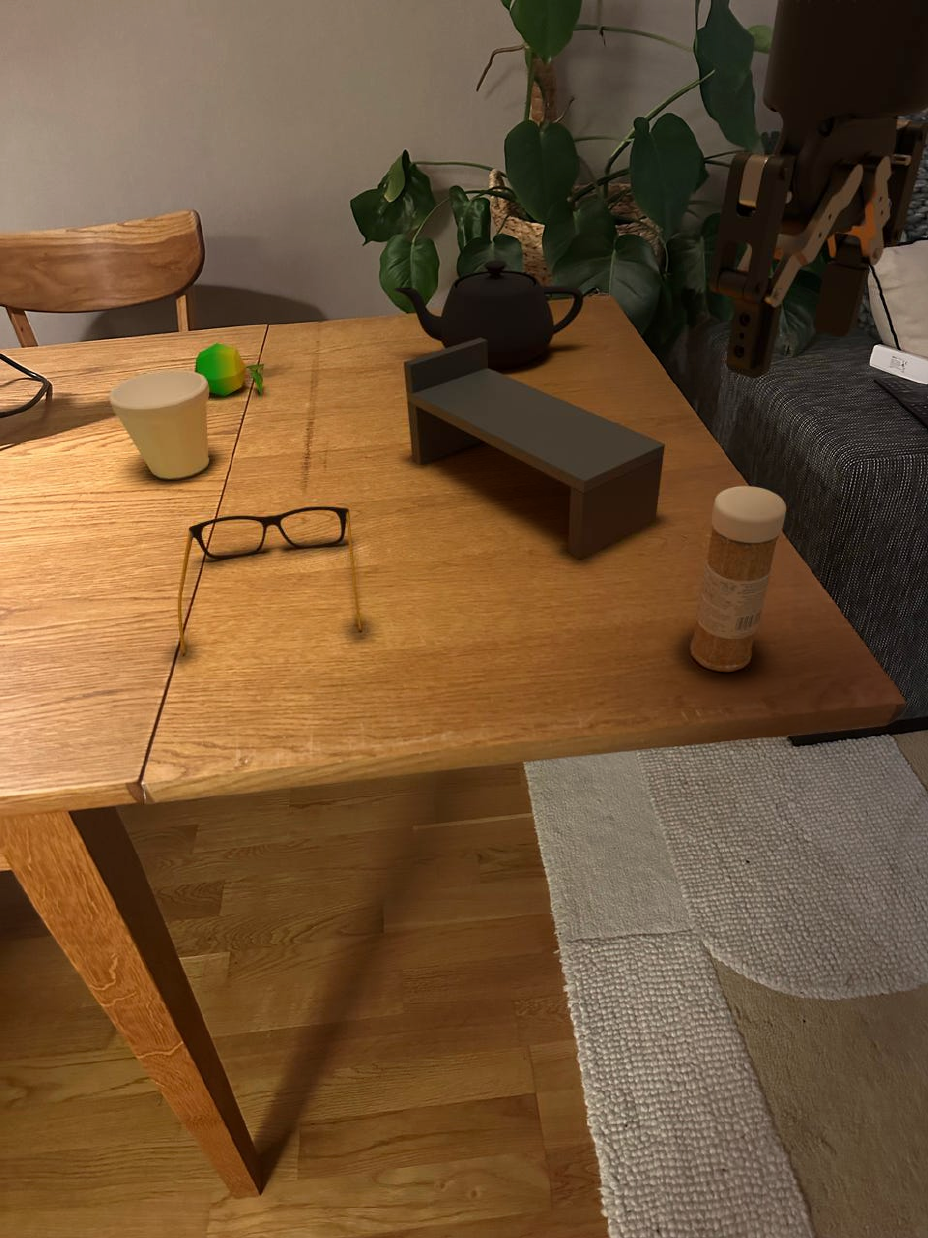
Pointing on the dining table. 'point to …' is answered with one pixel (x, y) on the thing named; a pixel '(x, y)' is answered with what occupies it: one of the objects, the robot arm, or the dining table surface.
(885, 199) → the robot arm
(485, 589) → the dining table surface
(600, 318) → the dining table surface
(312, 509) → the eyeglasses
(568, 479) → the shelf
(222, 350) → the apple
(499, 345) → the teapot
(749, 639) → the sprinkles bottle
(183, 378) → the cup
